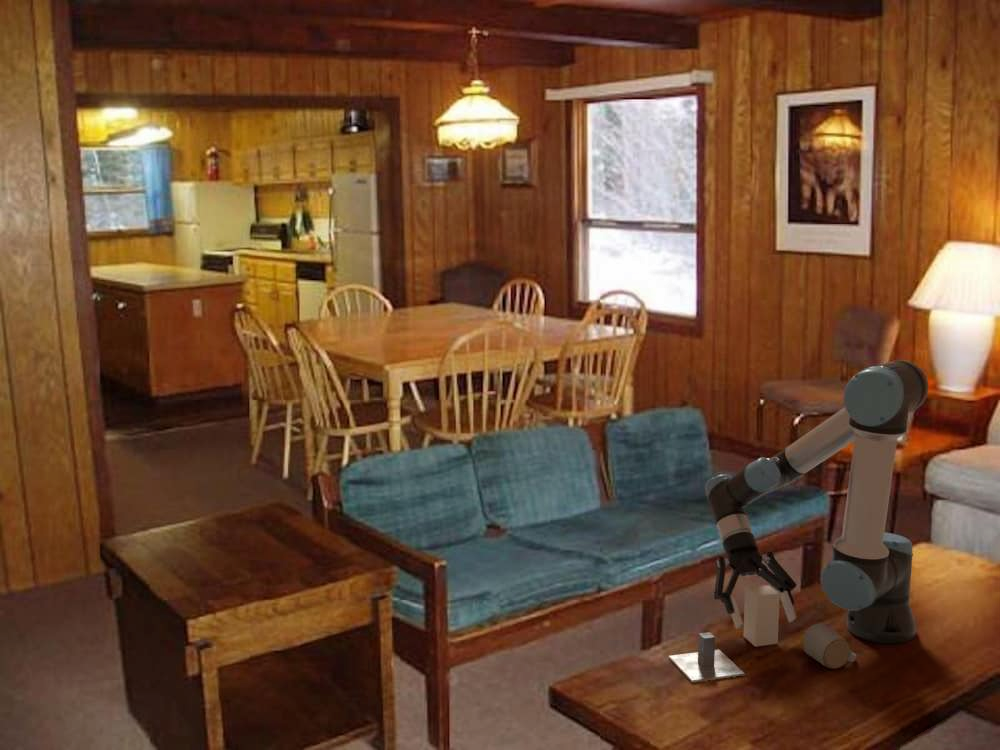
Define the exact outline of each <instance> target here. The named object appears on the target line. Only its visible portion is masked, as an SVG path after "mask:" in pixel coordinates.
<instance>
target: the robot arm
mask: <svg viewBox="0 0 1000 750" xmlns="http://www.w3.org/2000/svg"><path fill="white" fill-rule="evenodd" d="M843 391H844V392H843V405H844V407H843V408H840V410H838V411H837V412H835V413H834V414H832V415H831V416H830V417H828V418H827V419H825V420H824V421H822V422H821V423H819V424H818V425H817V426H815V427H814V428H812V429H811V430H810V431H808V432H806V434H804V435H802V436H801V437H800V438H799V439H797V440H796V441H794V442H793V443H791V444H789V445H788V446H787V447H785V448H784V449H783V450H781V451H779V452H778V453H777V454H775V455H773V456H772V457H769V458H766V457H762V456H761V457H759V458H757V459H756V460H754V461H753V462H750V463H748V464H747V465H746V466H745V467H744V468H742V469H741V470H740V471H739V472H737V473H736V474H734V475H733V476H732V475H730V474H726V473H724V474H719V475H716V476H713V477H711V478H709V479H708V480H707V481H706V483H705V485H704V489H705V495H706V498H707V503H708V505H709V507H710V510H711V512H712V515H713V518H714V521H715V525H716V529H717V532H718V534H719V537H720V541H722V546H723V549H724V552H725V555H726V557H727V558H724V557H723V556H720V557H718V558H717V560H716V562H715V565H716V577H715V585H714V592H713V599H714V600H716V601H717V600H720V602H721V603H722V604H724V607H725V610H726V613H727V614H728V615H731V618H732V622H733V625H734V628H735V629H736V630H738V629H739V630H740V628H741V627H742V626H744V621H743V619H742V617H741V613H740V610H739V606H738V604H737V601H736V598H735V596H732V594H733V591H734V589H735V586H736V584H737V581H738V579H739V576H742V577H745V576H755V575H757V576H758V577H761V578H762V579H764V580H765V581H766V582H767V583H768V584H770V585H771V586H772V588H774V589H775V590H776V591H777V592H780V598H779V599H780V600H781V605H782V606H783V611H784V613H785V616H786V618H787V621H788V623H793V622H794V620H796V619H797V614H796V612H795V609H794V605H795V600H794V597H793V595H792V592H793V590H794V589H796V587H797V583H796V582H795V581H794V580H793V578H792V577H791V576H790V574H788V573H787V571H786V570H785V569H784V568H783V566H781V564H779V562H778V561H777V559H776V558H775V556H774V553H773V552H772V551H768V552H767V553H766V554H761V553H760V552H759V548H758V544H757V542H756V538H755V535H754V534H753V533H752V532H753V529H752V526H751V524H750V522H749V519H748V515H747V513H746V510H745V509H746V508H745V507H747V506H749V505H750V504H751V503H753V502H754V501H756V500H758V499H759V498H761V497H762V496H765V495H767V494H769V493H771V492H774V491H776V490H778V489H781V488H783V487H785V486H787V485H793V484H794V483H797V481H799V480H800V479H801V478H802V477H803V476H804V475H805V474H806V473H809V471H811V470H812V469H814V468H816V466H818V465H820V464H821V463H823V462H824V461H826V460H827V459H829V458H831V457H832V456H834V455H835V454H837V453H838V452H839V451H841V450H843V449H844V448H846V447H847V446H849V445H850V444H852V443H853V447H852V455H851V456H852V457H851V464H850V469H849V470H850V471H849V479H848V486H847V487H848V488H847V496H846V501H845V509H844V510H845V511H844V517H843V518H844V519H843V525H842V532H841V533H842V534H841V536H840V537H838V538H837V539H835V540H834V542H833V546H832V553H831V561H830V562H828V563H827V564H826V565H825V566H824V568H823V570H822V572H821V575H820V583H821V588H822V590H823V592H824V594H825V595H826V596H827V597H828V599H829V601H830V602H832V603H833V604H834V605H835V606H837V607H839V608H841V609H843V610H846V611H848V613H847V614H846V629H847V630H848V632H849V633H850V634H852V635H854V636H856V637H858V638H859V639H860V638H861V639H862V640H866V641H870V642H874V643H881V644H901V643H906V642H907V643H908V642H910V641H912V640H913V639H915V638H916V637H915V636H916V630H917V629H916V628H917V627H916V621H915V618H914V614H913V610H912V606H911V603H910V596H911V595H910V592H911V581H912V580H911V579H912V566H913V565H912V564H913V556H914V553H913V543H912V541H911V540H910V539H908V538H907V537H904V536H903V535H899V534H895V533H890V532H886V531H885V530H886V522H887V515H888V509H889V503H890V494H891V488H892V479H893V473H894V466H895V458H896V452H897V445H898V439H899V438H900V437H902V436H904V435H905V434H907V429H908V424H909V423H908V421H909V415H910V413H912V412H914V411H915V410H917V409H918V408H919V407H920V406H922V405H923V403H924V402H925V401H926V400H927V399H926V398H927V397H928V393H929V382H928V378H927V376H926V374H925V373H924V371H923V370H922V369H921V368H920V367H919V366H918V365H917V364H915V363H913V362H911V361H907V360H901V359H900V360H899V359H898V360H892V361H889V362H885V363H883V364H878V365H872V366H870V367H866V368H864V369H863V370H860V371H858V372H857V373H856V374H855V375H853V376H852V377H851V378H850V379H849V381H848V382H847V384H846V386H845V388H844V390H843ZM727 566H729V568H731V569H732V573H731V576H730V578H729V581H728V583H727V585H726V588H725V590H724V584H725V578H726V577H725V576H726V570H727V569H726V568H727ZM768 568H769V569H768ZM723 591H724V592H723Z"/></svg>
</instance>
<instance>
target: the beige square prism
mask: <svg viewBox="0 0 1000 750" xmlns="http://www.w3.org/2000/svg"><path fill="white" fill-rule="evenodd" d="M780 595H781V592H780V593H779V591H778V590H777V589H775V588H774V587H771V586H770V585H769V584H761V585H760V584H759V585H751V586H745V587H744V607H743V608H744V610H743V613H744V614H743V638H745V639H746V640H747V641H748V642H749V643H750V644H752V646H754V647H761V646H770V645H777V644H778V643H779V620H780V619H779V618H780V616H779V615H780V599H781V598H780Z"/></svg>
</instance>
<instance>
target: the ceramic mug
mask: <svg viewBox="0 0 1000 750" xmlns="http://www.w3.org/2000/svg"><path fill="white" fill-rule="evenodd" d="M802 649H803V650H804V652H805V653H806V654H807V655H808V656H809V657H810V658H813V660H815V661H817V662H818V663H819V664H821V665H823V666H824V667H826V668H828V669H831V670H837V669H839V668H842V667H843V666H844V665H846V664H847V663H848V662H849V663H854V662H855V661H856V659H857V653H855V652H853V651H852V650H851V646H850V644H849V643H848V641H847V640H846V639H845V638H844V637H842V636H841V635H840V634H839V633H837V632H836V631H835V629H833V628H831V626H829V625H827V623H826V624H825V623H822V622H819V623H815V624H813V625H811V626H809V628H807V629H806V631H805V632H804V634H803V637H802Z"/></svg>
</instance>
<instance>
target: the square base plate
mask: <svg viewBox="0 0 1000 750" xmlns="http://www.w3.org/2000/svg"><path fill="white" fill-rule="evenodd" d="M697 641H698V644H697V646H698V649H697V651H696V652H695V651H694V652H689V653H688V652H687V653H681V654H674V655H668V659H669V660H670V662H672V664H673V665H675V666H676V667H677V669H678V670H679V671H680V672H681V673H682V674H683V675H684V676H685V677H686V678H687V680H688V681H690V683H692V684H695V683H702V682H703V681H704V682H709V681H708V680H711V681H717V680H716V679H718V680H724V678H726V679H731V678H730V677H733V678H737V677H736V676H740V677H744V676H745V672H744V671H743V670H741V669H740V667H738V666H737V665H736V664H735V663H734V662H733V661H732V660H731V659H730V658H729V657H728V656H727V655H725V653H724V652H722V650H720V649H716V637H715V635H713V634H712V633H711V632H700V633H698V640H697Z"/></svg>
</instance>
